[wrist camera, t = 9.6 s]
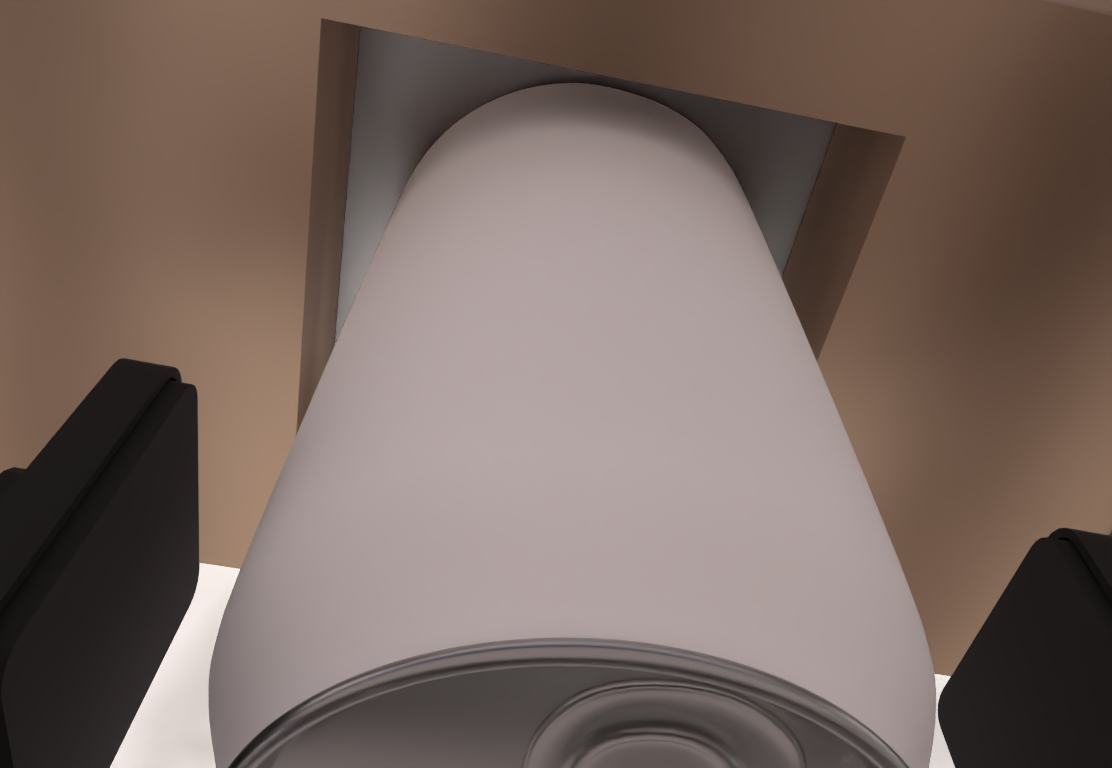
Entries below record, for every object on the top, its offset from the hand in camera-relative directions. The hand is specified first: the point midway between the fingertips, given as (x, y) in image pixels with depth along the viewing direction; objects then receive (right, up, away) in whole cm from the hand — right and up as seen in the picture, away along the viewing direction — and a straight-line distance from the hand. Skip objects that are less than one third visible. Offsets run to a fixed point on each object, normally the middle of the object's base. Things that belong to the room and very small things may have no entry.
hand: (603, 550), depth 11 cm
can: (0, +4, +7) cm, 8 cm away
